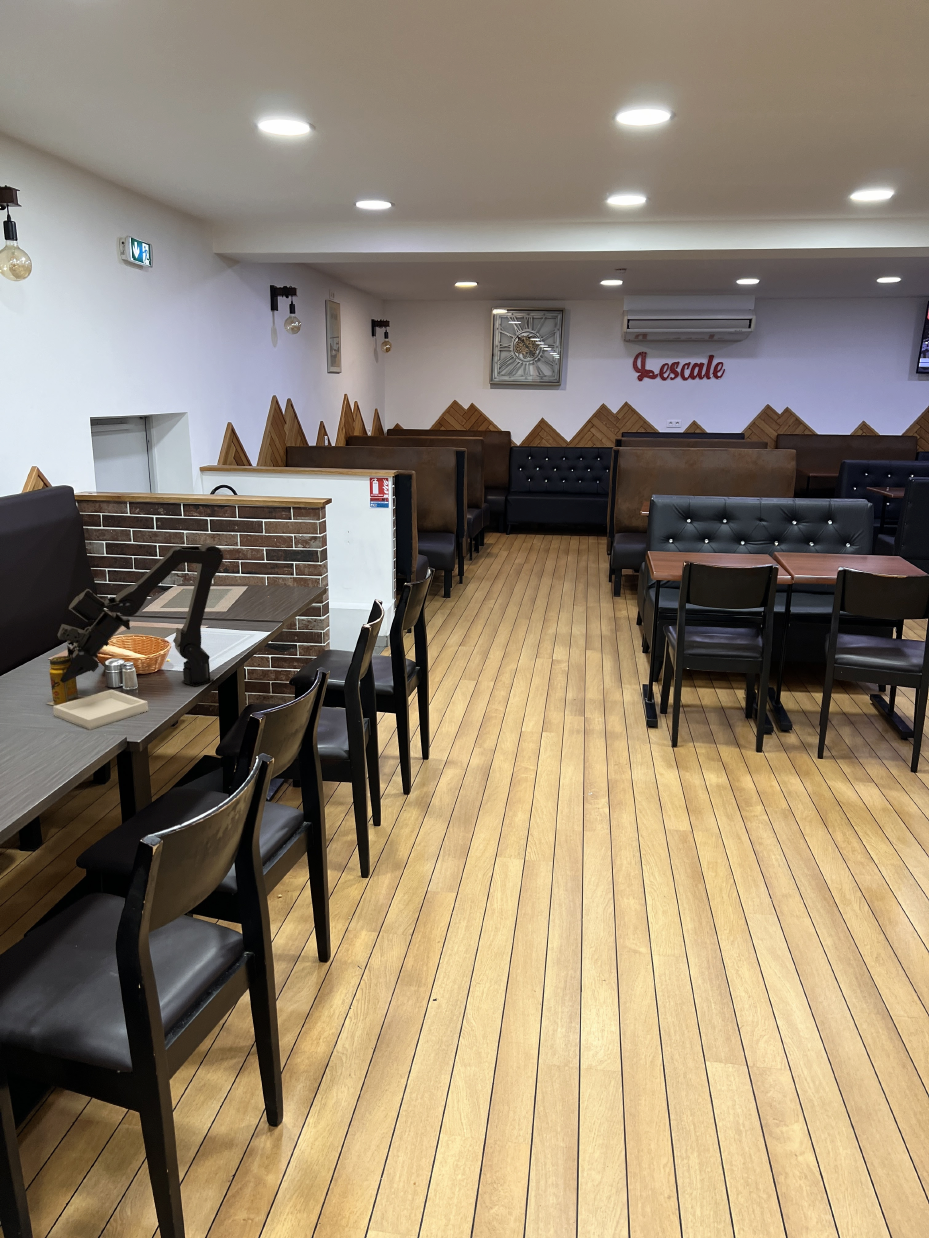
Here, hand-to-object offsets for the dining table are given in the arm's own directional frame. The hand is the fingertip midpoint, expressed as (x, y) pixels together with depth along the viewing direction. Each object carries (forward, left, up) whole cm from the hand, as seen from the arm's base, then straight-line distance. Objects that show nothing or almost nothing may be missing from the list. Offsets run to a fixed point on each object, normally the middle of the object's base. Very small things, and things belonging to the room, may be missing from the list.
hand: (60, 678), depth 221 cm
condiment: (-1, 0, -7) cm, 7 cm away
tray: (-1, +15, -7) cm, 17 cm away
